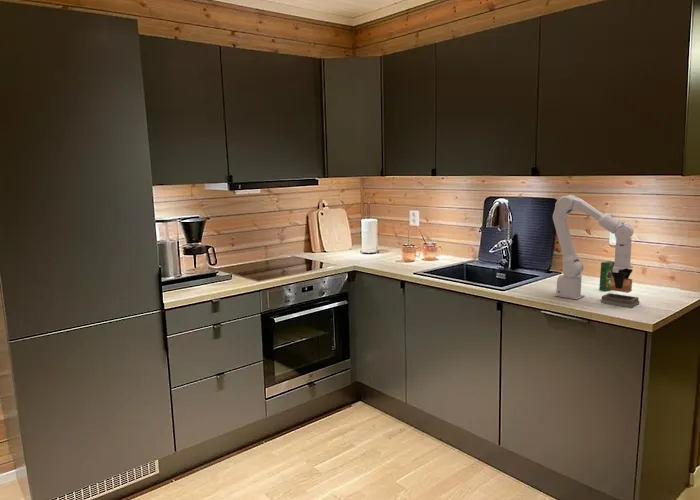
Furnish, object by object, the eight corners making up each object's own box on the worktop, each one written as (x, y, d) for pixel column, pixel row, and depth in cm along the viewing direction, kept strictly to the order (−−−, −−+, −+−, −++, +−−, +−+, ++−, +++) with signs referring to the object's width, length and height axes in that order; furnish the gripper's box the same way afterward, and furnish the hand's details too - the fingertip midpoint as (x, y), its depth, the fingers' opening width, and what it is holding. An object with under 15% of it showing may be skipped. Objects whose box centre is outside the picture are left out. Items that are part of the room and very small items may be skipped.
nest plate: (600, 302, 219) (600, 296, 219) (608, 298, 225) (609, 292, 225) (631, 308, 211) (631, 301, 210) (639, 303, 217) (639, 297, 216)
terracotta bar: (627, 292, 213) (628, 280, 213) (609, 290, 218) (610, 278, 218) (631, 291, 216) (632, 279, 215) (613, 288, 221) (614, 276, 220)
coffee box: (608, 287, 245) (610, 260, 243) (614, 289, 242) (616, 260, 240) (598, 290, 240) (600, 262, 238) (604, 291, 238) (606, 263, 236)
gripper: (626, 258, 207) (624, 291, 209) (639, 253, 217) (637, 285, 219) (608, 256, 212) (606, 289, 214) (621, 251, 222) (619, 283, 224)
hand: (620, 287), depth 217 cm, fingers closed on terracotta bar, 4 cm apart
